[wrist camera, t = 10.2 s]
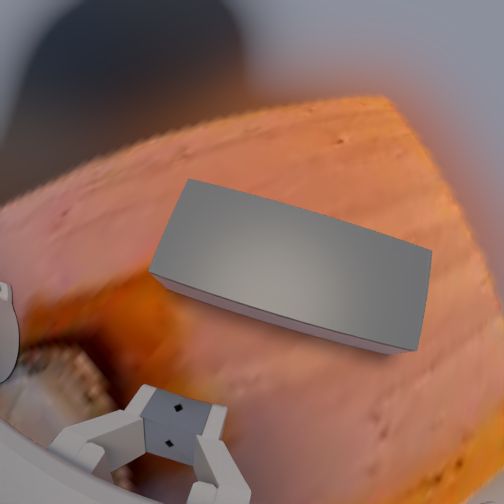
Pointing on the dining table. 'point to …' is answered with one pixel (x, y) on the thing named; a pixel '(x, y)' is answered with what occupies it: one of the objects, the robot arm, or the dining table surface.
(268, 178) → the dining table surface
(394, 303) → the plate
